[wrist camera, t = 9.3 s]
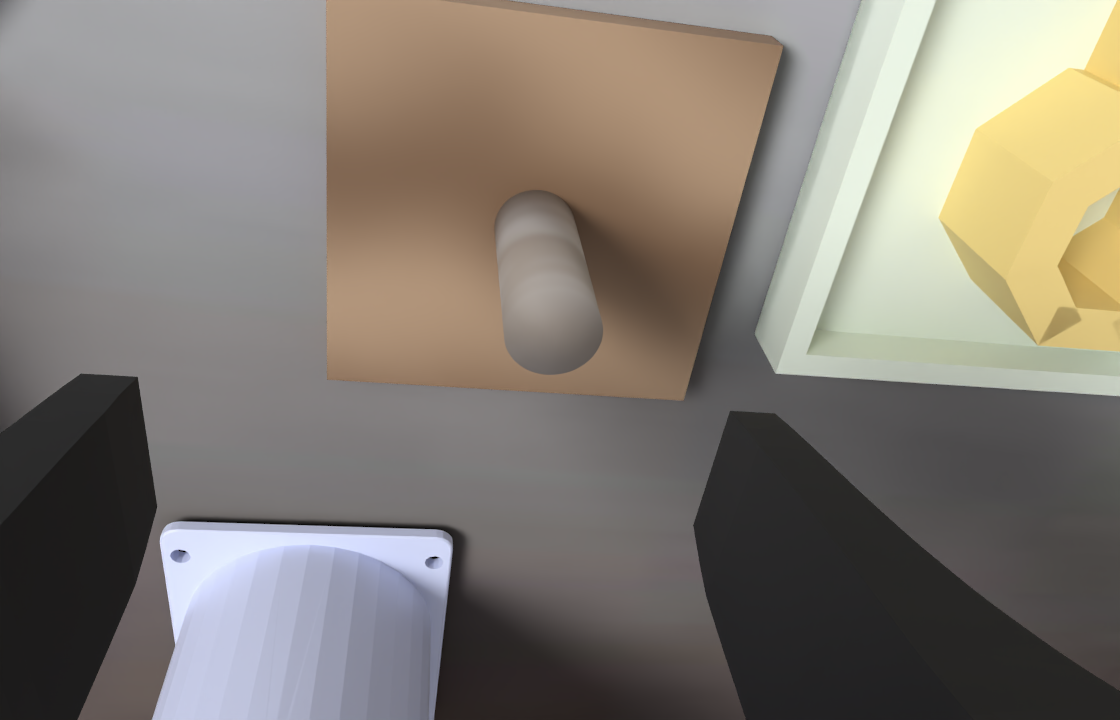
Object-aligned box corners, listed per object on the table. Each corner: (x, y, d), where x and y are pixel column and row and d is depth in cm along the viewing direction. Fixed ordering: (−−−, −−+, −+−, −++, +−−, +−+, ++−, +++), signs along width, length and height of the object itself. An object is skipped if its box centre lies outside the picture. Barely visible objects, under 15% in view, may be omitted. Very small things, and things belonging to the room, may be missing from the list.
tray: (1143, 362, 24) (1187, 400, 23) (754, 333, 22) (775, 373, 21) (1430, -96, 18) (1517, -83, 16) (922, -191, 16) (970, -186, 15)
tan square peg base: (677, 382, 23) (727, 521, 19) (330, 361, 22) (300, 507, 17) (771, 36, 18) (869, 117, 14) (331, -24, 17) (289, 48, 12)
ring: (1258, 9, 18) (1385, 47, 16) (1101, 290, 22) (1182, 356, 20) (1039, -25, 17) (1136, 10, 15) (914, 274, 21) (974, 341, 19)
